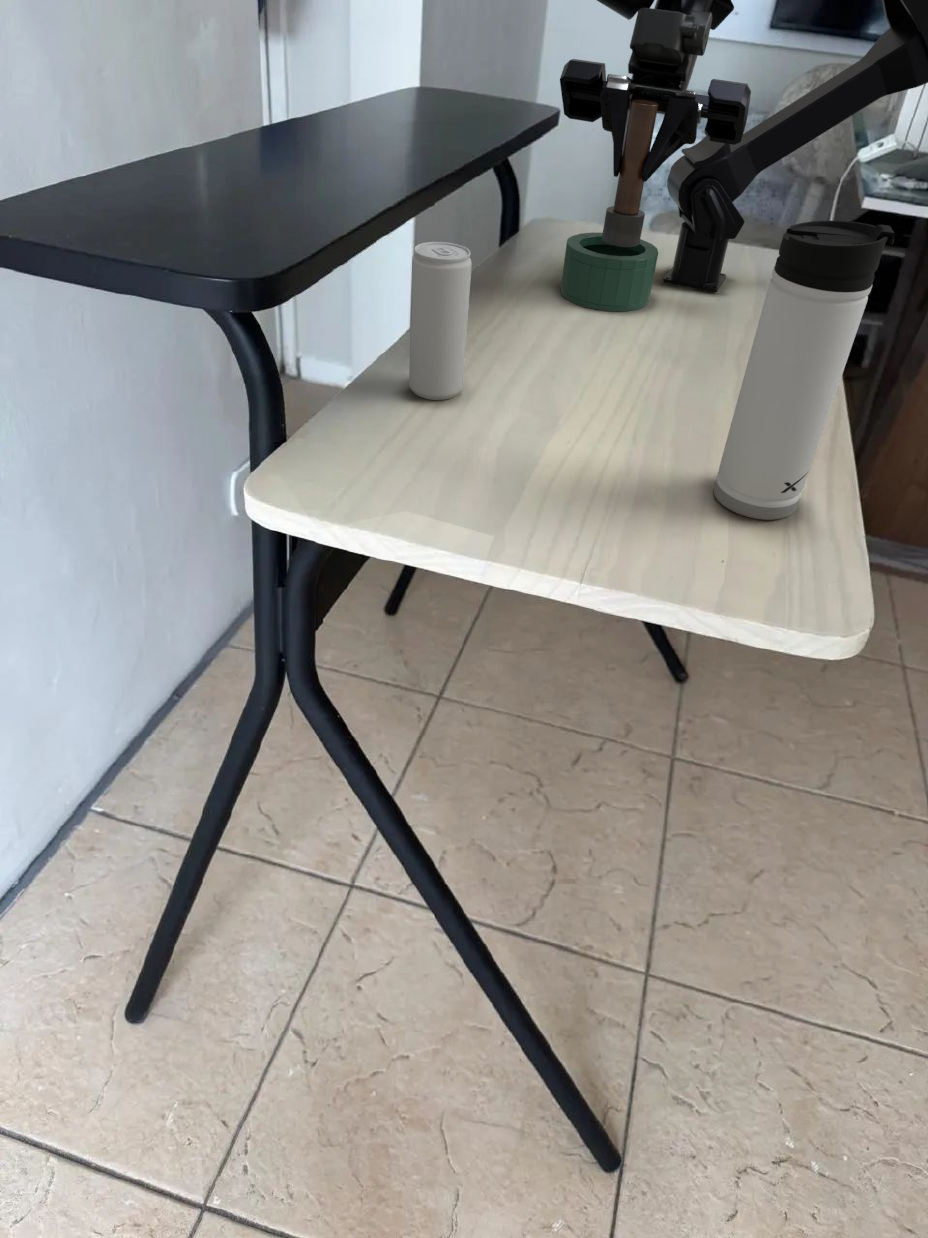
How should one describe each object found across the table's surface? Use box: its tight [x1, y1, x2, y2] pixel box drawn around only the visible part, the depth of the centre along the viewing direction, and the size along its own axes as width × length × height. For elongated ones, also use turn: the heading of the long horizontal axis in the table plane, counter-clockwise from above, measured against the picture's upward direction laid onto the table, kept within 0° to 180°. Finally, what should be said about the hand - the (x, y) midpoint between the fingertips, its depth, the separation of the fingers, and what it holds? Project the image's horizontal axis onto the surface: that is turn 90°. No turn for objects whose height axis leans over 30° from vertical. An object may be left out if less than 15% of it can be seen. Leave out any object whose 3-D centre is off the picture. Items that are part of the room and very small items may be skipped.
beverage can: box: [408, 241, 473, 401], centre depth 78 cm, size 5×5×12 cm
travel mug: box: [712, 220, 896, 521], centre depth 64 cm, size 6×7×20 cm
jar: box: [560, 232, 659, 312], centre depth 103 cm, size 10×10×6 cm
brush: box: [602, 100, 658, 247], centre depth 93 cm, size 4×4×13 cm
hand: (629, 176), depth 92 cm, fingers closed on brush, 2 cm apart
